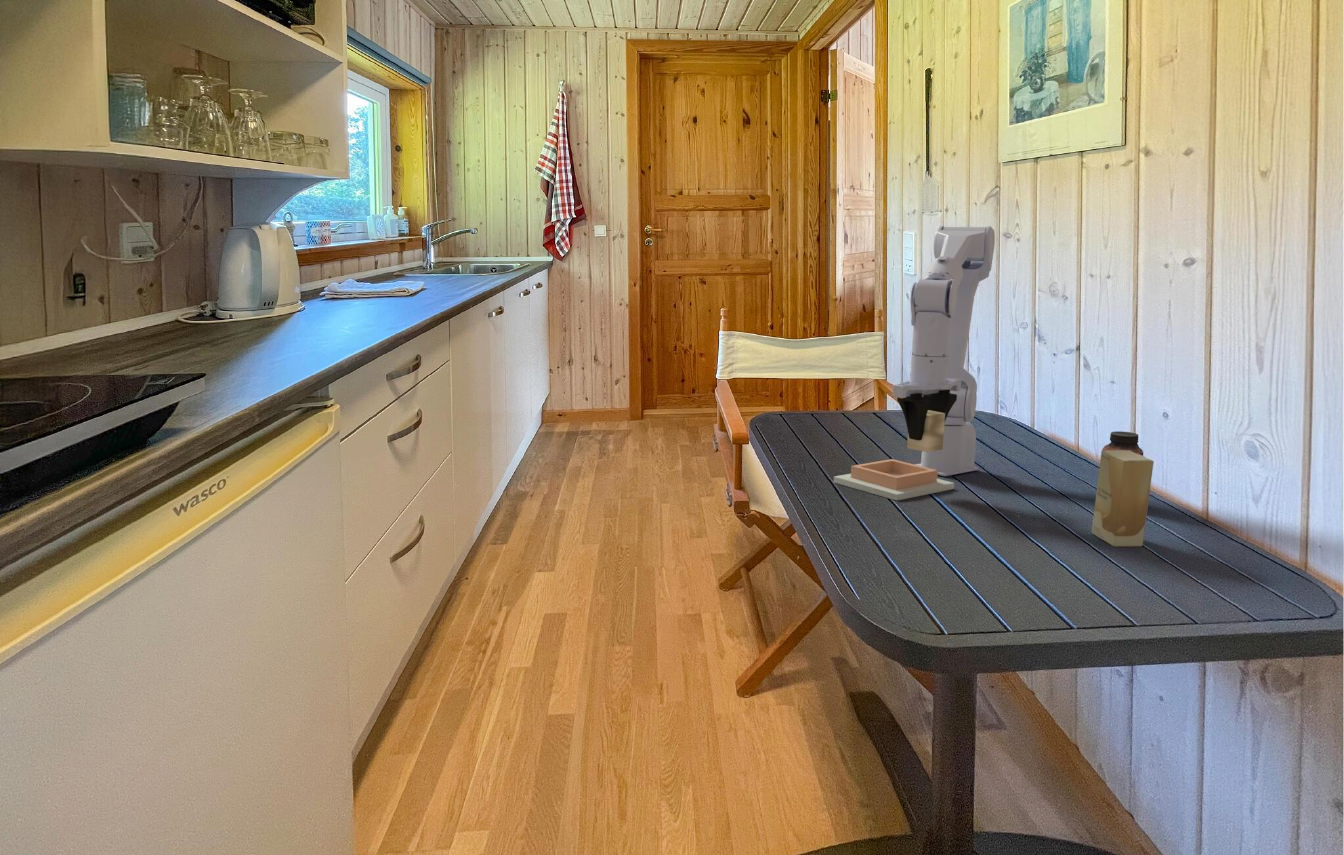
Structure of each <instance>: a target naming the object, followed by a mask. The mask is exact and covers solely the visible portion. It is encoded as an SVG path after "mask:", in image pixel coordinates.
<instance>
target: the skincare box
mask: <svg viewBox="0 0 1344 855" xmlns="http://www.w3.org/2000/svg"><path fill="white" fill-rule="evenodd" d="M1154 462H1155V461H1154V460H1153V459H1150V458H1148V457H1146V456H1144V455H1143V456H1142V455H1140V454H1136V453H1134V452H1132V451H1130V450H1106V451H1102V450H1101V451H1100V461H1099V471H1098V478H1097V479H1098V480H1097V486H1096V487H1097V488H1096V495H1095V503H1094V510H1093V519H1092V526H1091V533H1092V534H1093V535H1095V537H1097V538H1099V539H1101V540H1103V541H1104V542H1106V543H1108V544H1109V545H1111V546H1112V547H1142V546H1143V545H1144V537H1145V531H1146V530H1145V529H1146V522H1147V515H1148V506H1149V498H1150V492H1151V486H1152V485H1151V483H1152V476H1153V470H1154V469H1153V468H1154Z"/></svg>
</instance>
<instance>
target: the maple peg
mask: <svg viewBox="0 0 1344 855" xmlns="http://www.w3.org/2000/svg"><path fill="white" fill-rule="evenodd" d="M944 422H945V413H941V412H935V411H930V410H928V412H927V415H926V419H925V425H924V432H923V437H922V440H914V439H909V434H908V433H907V441H906V442H907V443H906V444H907V446H906V448H907V449H910V450H915V451H919V452H922V451H923V452H931V451H937V450H942V449H943V436H944Z"/></svg>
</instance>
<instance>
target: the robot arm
mask: <svg viewBox="0 0 1344 855" xmlns="http://www.w3.org/2000/svg"><path fill="white" fill-rule="evenodd" d="M995 235H996V234H995V229H994V228H993V227H992V226H991V225H989V226H944V225H939V227H938V228H937V229H936V231H935V233H934V238H933V256H934V260H932V261H931V263H930V264H929V266H928V268H927V270H926V272H925V274H924V276H923V278H922V279H919V280H918V282H914V283H913V284H912V287H911V291H910V298H909V299H910V300H909V301H910V313H911V316H910V317H911V319H910V322H911V323H910V324H911V326H912V329H913V330H912V344H911V356H910V357H911V360H910V361H911V362H910V374H909V375H910V376H909V380H907V381H904V382H900V383H896V384H893V385H892V386H893V387H892V397H894V398H896V401H897V403H898V404H899V406H900V408H901V411H902V413H903V415H904V418H905V419H904V420H905V424H906V428H907V435H908V434H909V439H914V440H922V437H923V432H924V425H925V419H926V415H927V412H928V410H930V411H935V412H941V413H945V422H944V436H943V449H942V450H937V451H931V452H923V451H921V460H920V463H914V465H918V466H922V467H926V468H930V469H934V470H938V472H937V476H942V477H950V476H953V475H958V474H959V475H960V474H964V473H969V472H974V471H978V470H979V467H978V466H977V467H976V466H975V461H976V458H975V457H976V444H977V433H976V429H975V427H974V425H973V424H972V423H971V421H972V420H973V419H974V417H975V414H976V409H977V397H978V396H977V395H978V394H977V392H978V383H977V381H976V378H975V377H974V376H973V374H971V373H970V372H968V370H966V369H965V363H966V362H965V361H966V360H965V359H966V355H967V348H968V341H969V335H970V334H969V333H970V329H971V322H972V314H973V307H974V302H975V301H974V300H975V295H976V292H977V290H978V286H979V284H980V282H981V281H984V280H986V279H988V278H989V276H990V272H991V271H992V266H993V265H992V264H993V260H994V253H995V252H994V251H995V243H996V242H995V240H996V236H995Z"/></svg>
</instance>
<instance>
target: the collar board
mask: <svg viewBox="0 0 1344 855" xmlns="http://www.w3.org/2000/svg"><path fill="white" fill-rule="evenodd" d="M850 467H851V469H850V470H851V471H850V473H845V474H842V475H840V474H839V475H835V476H833V483H834V484H837V485H842V486H846V487H849V488H852V489H856V490H859V491H862V492H866V493H869V494H873V495H876V496H880V497H882V498H886V499H890V500H894V501H902V500H907V499H912V498H916V497H921V496H925V495H931V494H934V493H941V492H944V491H950V490H954V489H955V482H952V481H948V480H944V479H941V478H938V475H937V472H938V470H934V469H930V468H926V467H922V466H918V465H915V463H914V464H913V463H909V462H905V461H901V460H897V459H894V458H891V459H885V460H884V459H883V460H879V461H873V462H866V463H861V464H855V465H851V466H850Z"/></svg>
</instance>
